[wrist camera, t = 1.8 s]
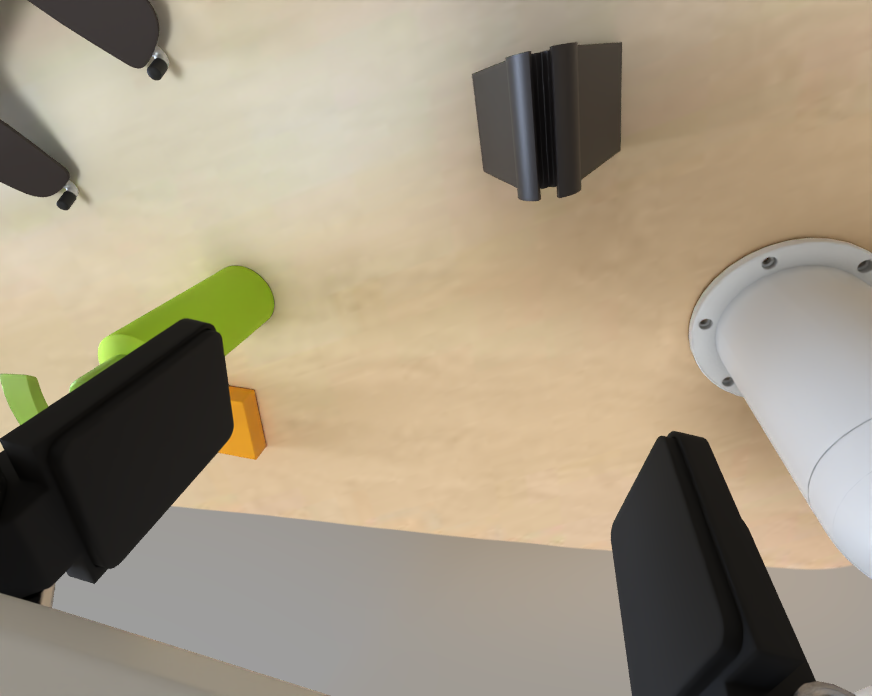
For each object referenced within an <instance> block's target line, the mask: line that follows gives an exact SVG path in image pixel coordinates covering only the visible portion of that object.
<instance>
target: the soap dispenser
mask: <svg viewBox="0 0 872 696" xmlns="http://www.w3.org/2000/svg"><path fill="white" fill-rule="evenodd" d="M273 310H274V299H273V295H272V292H271V290H270V288H269V286H268V285H267V283H266V282H265V281H264V280H263V279H262V278H261V277H260V276H259V275H258V274H257V273H255V272H254V271H252V270H250V269H248V268H245V267H242V266H229V267H226V268H224V269H223V270H221V271H219V272H217V273H216V274H214V275H212V276H210V277H209V278H207V279H205V280H204V281H202V282H200V283H198V284H197V285H195V286H193V287H192V288H190V289H188V290H186V291H185V292H183V293H181V294H179V295H178V296H176V297H174V298H173V299H171V300H169V301H167V302H166V303H164V304H162V305H161V306H159V307H157V308H155V309H154V310H152V311H150V312H148V313H147V314H145V315H143V316H142V317H140V318H138V319H136V320H135V321H133V322H131V323H130V324H128V325H126V326H124V327H123V328H121V329H119V330H117V331H116V332H114V333H112V334H111V335H109V336H107V337H106V338H104V339H103V340H102V341H101V343H100V345H99V348H98V359H99V363H100V365H99V366H97V367H96V368H94V369H93V370H91V371H89V372H88V373H86V374H85V375H83V376H82V377H80V378H78V379H77V380H75V381H74V382H73V383H72V384H71V386H70V392H72V391H73V390H75V389H76V388H78V387H79V386H81V385H82V384H84V383H85V382H87V381H88V380H90V379H91V378H93V377H94V376H96V375H97V374H99V373H100V372H102V371H103V370H105V369H106V368H108V367H109V366H111V365H112V364H114V363H116V362H117V361H119V360H120V359H122V358H123V357H125V356H126V355H128V354H129V353H131V352H132V351H134V350H135V349H137V348H138V347H140V346H141V345H143V344H144V343H146V342H147V341H149V340H150V339H152V338H153V337H155V336H156V335H158V334H159V333H161V332H162V331H164V330H166V329H167V328H169V327H170V326H172V325H173V324H175V323H176V322H178V321H179V320H181V319H183V318H189V319H193V320H197V321H202V322H206V323H210V324H212V325H214V327H215V328H216V331H217V332H218V333H220V334H221V336H222V341H223V348H224V355H225V356H226V355H227V354H228V353H229V352H231V351H232V350H233V349H234V348H235V347H236V346H238V345H239V344H240V343H241V342H242V341H243V340H245V339H246V338H247V337H248V336H249V335H251V334H252V333H253V332H254V331H255V330H256V329H258V328H259V327H260V326H261V325H262V324H263V323H265V322H266V321H267V320H268V319H269V318H270V317H271V315H272V313H273ZM0 381H1V384H2V388H3V391H4V394H5V397H6V399H7V402H8V404H9V406H10V408H11V410H12V412H13V414H14V416H15V417H16V419H17V421H18V422H19V423H20V425H22V424H23V423H25V422H26V421H28V420H29V419H31V418H32V417H34V416H35V415H37V414H38V413H40V412H41V411H43V410H44V409H46V408H47V407H48V405H47V403H46V401H45V399H44V397H43V394H42V392H41V389H40V386H39V383H38V380H37V378H36V377H33V376H29V375H19V374H0Z"/></svg>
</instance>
